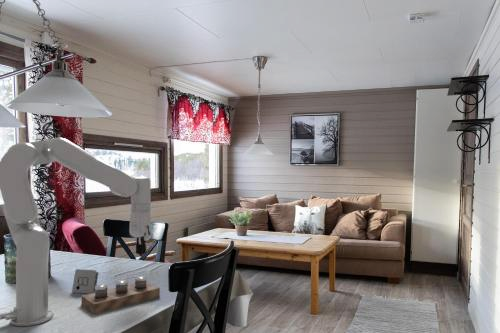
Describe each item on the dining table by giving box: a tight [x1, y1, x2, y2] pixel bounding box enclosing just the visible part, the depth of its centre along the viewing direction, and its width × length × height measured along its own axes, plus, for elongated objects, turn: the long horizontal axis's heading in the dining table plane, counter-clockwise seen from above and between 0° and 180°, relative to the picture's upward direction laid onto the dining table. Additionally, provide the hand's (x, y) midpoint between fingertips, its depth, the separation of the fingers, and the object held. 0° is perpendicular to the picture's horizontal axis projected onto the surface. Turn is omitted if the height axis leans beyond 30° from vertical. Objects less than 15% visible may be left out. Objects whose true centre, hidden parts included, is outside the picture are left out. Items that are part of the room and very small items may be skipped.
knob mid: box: [115, 279, 129, 294], centre depth 149 cm, size 4×4×4 cm
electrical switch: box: [71, 268, 99, 294], centre depth 160 cm, size 9×5×9 cm, turn 78°
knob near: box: [94, 283, 109, 299], centre depth 143 cm, size 4×4×4 cm
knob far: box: [134, 275, 147, 289], centre depth 154 cm, size 4×4×4 cm
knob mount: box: [80, 281, 161, 315], centre depth 149 cm, size 26×12×4 cm, turn 134°
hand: (140, 253), depth 154 cm, fingers closed
